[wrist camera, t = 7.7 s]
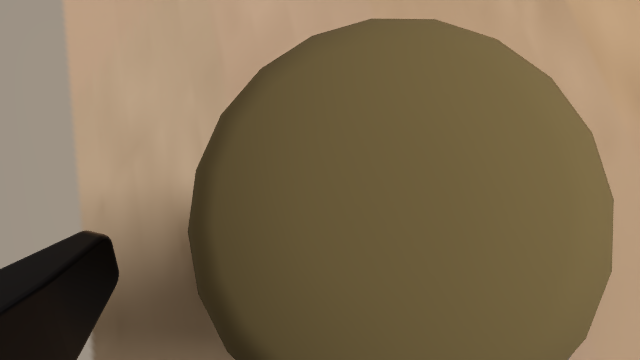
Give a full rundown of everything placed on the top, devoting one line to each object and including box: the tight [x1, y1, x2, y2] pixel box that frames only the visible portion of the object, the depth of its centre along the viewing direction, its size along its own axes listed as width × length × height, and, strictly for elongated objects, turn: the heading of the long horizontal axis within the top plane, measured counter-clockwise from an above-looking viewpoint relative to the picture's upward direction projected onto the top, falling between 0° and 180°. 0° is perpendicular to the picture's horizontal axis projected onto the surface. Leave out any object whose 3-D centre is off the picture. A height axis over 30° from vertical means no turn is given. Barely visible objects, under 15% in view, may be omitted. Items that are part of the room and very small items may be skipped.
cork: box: [188, 19, 614, 360], centre depth 11 cm, size 6×6×11 cm
